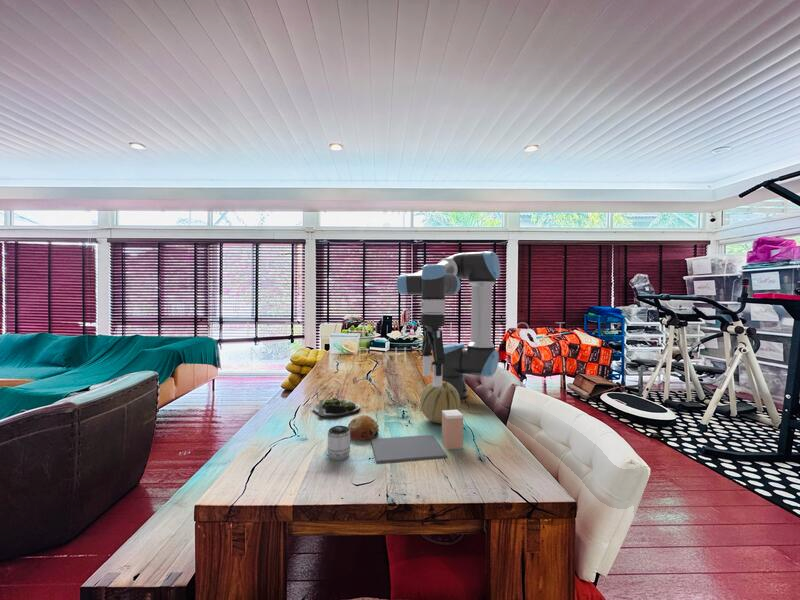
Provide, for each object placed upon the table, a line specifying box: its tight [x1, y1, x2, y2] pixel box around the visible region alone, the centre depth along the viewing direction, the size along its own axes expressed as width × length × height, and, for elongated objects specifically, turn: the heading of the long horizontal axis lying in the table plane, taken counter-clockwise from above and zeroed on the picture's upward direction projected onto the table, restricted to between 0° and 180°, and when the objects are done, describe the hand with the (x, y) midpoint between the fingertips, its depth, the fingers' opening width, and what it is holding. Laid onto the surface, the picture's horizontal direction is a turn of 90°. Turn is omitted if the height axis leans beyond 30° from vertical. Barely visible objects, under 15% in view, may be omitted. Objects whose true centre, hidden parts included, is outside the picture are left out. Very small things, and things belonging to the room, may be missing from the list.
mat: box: [370, 434, 448, 464], centre depth 101 cm, size 20×14×1 cm
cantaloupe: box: [419, 381, 461, 424], centre depth 122 cm, size 15×15×15 cm
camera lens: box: [327, 425, 351, 461], centre depth 96 cm, size 6×6×8 cm
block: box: [441, 410, 464, 450], centre depth 103 cm, size 5×5×10 cm
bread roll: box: [347, 414, 380, 442], centre depth 110 cm, size 10×10×8 cm
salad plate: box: [312, 397, 361, 419], centre depth 134 cm, size 19×18×5 cm
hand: (431, 380), depth 107 cm, fingers open, 13 cm apart
